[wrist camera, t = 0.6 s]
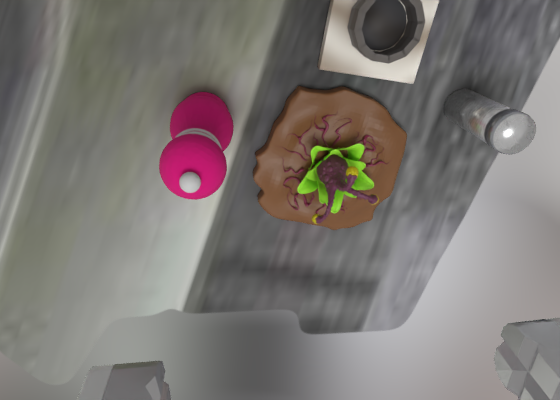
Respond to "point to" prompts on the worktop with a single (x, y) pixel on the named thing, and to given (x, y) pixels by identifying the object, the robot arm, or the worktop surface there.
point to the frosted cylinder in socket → (490, 121)
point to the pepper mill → (197, 146)
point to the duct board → (376, 37)
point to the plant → (329, 158)
